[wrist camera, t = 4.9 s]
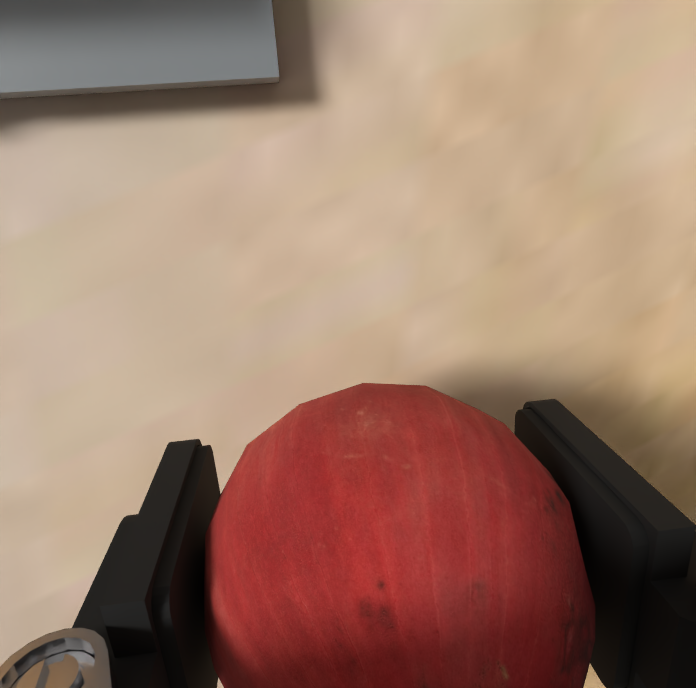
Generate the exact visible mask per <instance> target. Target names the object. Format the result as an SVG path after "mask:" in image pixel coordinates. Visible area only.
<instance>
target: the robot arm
mask: <svg viewBox="0 0 696 688" xmlns="http://www.w3.org/2000/svg"><path fill="white" fill-rule="evenodd" d="M515 436H516V437H517V438H518V439H519V440H520V441H521V442H522V443H523V444H524V445H525V446H526V447H527V449H528V450H529V451H530V452H531V453H532V454H533V455H534V456H535V457H536V458H537V459H538V460H539V461H540V463H541V464H542V465H543V466H544V467H545V468H546V469H547V470H548V471H549V472H550V474H551V475H552V477H553V478H554V480H555V481H556V483H557V484H558V486H559V487H560V489H561V490H562V492H563V493H564V495H565V497H566V498H567V500H568V501H569V503H570V507H571V511H572V515H573V520H574V524H575V528H576V532H577V536H578V540H579V545H580V549H581V553H582V557H583V561H584V565H585V570H586V573H587V577H588V581H589V584H590V588H591V592H592V595H593V599H594V602H595V643H594V647H593V651H592V655H591V659H590V664H591V665H592V667H593V669H594V670H595V672H596V674H597V675H598V677H599V679H600V680H601V682H602V683H603V685H604V686H605V687H606V688H696V531H695V530H696V525H695V524H694V523H693V522H691V521H690V520H689V519H688V518H687V517H686V516H685V515H684V514H683V513H682V512H680V511H679V510H678V509H677V508H676V507H675V506H674V505H673V504H672V503H670V502H669V501H668V500H667V499H666V498H665V497H664V496H663V495H662V494H660V493H659V492H658V491H657V490H656V489H655V488H654V487H653V486H652V485H651V484H649V483H648V482H647V481H646V480H645V479H644V478H643V477H642V476H641V475H639V474H638V473H637V472H636V471H635V470H634V469H633V468H632V467H631V466H629V465H628V464H627V463H626V462H625V461H624V460H623V459H622V458H621V457H620V456H618V455H617V454H616V453H615V452H614V451H613V450H612V449H611V448H610V447H608V446H607V445H606V444H605V443H604V442H603V441H602V440H601V439H600V438H598V437H597V436H596V435H595V434H594V433H593V432H592V431H591V430H590V429H589V428H587V427H586V426H585V425H584V424H583V423H582V422H581V421H580V420H579V419H577V418H576V417H575V416H574V415H573V414H572V413H571V412H570V411H569V410H567V409H566V408H565V407H564V406H563V405H562V404H561V403H560V402H559V401H557V400H556V399H549V400H540V401H531V402H526V403H525V405H524V407H523V409H522V410H518V411H517V412H516V416H515ZM219 497H220V489H219V484H218V478H217V473H216V467H215V462H214V456H213V451H212V448H211V446H210V445H207V446H202V444H201V441H200V440H199V439H194V440H185V441H177V442H169V443H168V445H167V447H166V450H165V452H164V454H163V457H162V459H161V462H160V464H159V466H158V469H157V471H156V473H155V476H154V478H153V481H152V483H151V485H150V488H149V490H148V492H147V495H146V497H145V500H144V502H143V504H142V507H141V509H140V511H139V514H136V515H128V516H126V517H124V518H123V520H122V521H121V523H120V525H119V527H118V529H117V531H116V533H115V536H114V538H113V540H112V542H111V544H110V546H109V549H108V551H107V553H106V555H105V557H104V559H103V562H102V564H101V566H100V568H99V570H98V572H97V575H96V577H95V579H94V581H93V583H92V585H91V588H90V590H89V592H88V594H87V596H86V598H85V601H84V603H83V605H82V607H81V609H80V611H79V614H78V616H77V618H76V620H75V622H74V625H73V627H72V628H68V629H62V630H59V631H56V632H52V633H49V634H46V635H44V636H42V637H40V638H38V639H36V640H34V641H32V642H30V643H28V644H27V645H25V646H24V647H23V648H21V649H20V650H19V651H17V652H16V653H14V654H13V655H12V656H10V657H9V658H8V659H7V660H6V661H5V662H4V663H3V664H2V665H1V666H0V688H217V682H218V675H217V673H216V671H215V670H214V666H213V662H212V658H211V654H210V650H209V646H208V642H207V638H206V634H205V615H204V569H205V535H206V531H207V529H208V526H209V523H210V521H211V518H212V515H213V513H214V510H215V507H216V505H217V502H218V499H219Z"/></svg>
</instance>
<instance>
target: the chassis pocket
mask: <svg viewBox="0 0 696 688" xmlns="http://www.w3.org/2000/svg"><path fill="white" fill-rule="evenodd" d="M278 82H279V68H278V58H277V49H276V39H275V29H274V19H273V9H272V0H0V99H6V98H23V97H40V96H57V95H75V94H92V93H109V92H126V91H143V90H160V89H178V88H195V87H212V86H229V85H246V84H263V83H278Z"/></svg>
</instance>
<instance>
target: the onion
mask: <svg viewBox="0 0 696 688" xmlns="http://www.w3.org/2000/svg"><path fill="white" fill-rule="evenodd" d="M204 615H205V634H206V638H207V642H208V646H209V650H210V654H211V658H212V662H213V666H214V670H215V671H216V673H217V675H218V677H219V679H220V681H221V683H222V685H223V686H224V688H583V687H584V683H585V679H586V676H587V672H588V668H589V664H590V659H591V655H592V651H593V647H594V643H595V602H594V599H593V595H592V592H591V588H590V584H589V581H588V577H587V573H586V570H585V565H584V561H583V557H582V553H581V549H580V545H579V540H578V536H577V532H576V528H575V524H574V520H573V515H572V511H571V507H570V503H569V501H568V500H567V498H566V497H565V495H564V493H563V492H562V490H561V489H560V487H559V486H558V484H557V483H556V481H555V480H554V478H553V477H552V475H551V474H550V472H549V471H548V470H547V469H546V468H545V467H544V466H543V465H542V464H541V463H540V461H539V460H538V459H537V458H536V457H535V456H534V455H533V454H532V453H531V452H530V451H529V450H528V449H527V447H526V446H525V445H524V444H523V443H522V442H521V441H520V440H519V439H518V438H517V437H516V436H515V435H514V434H513V432H512V431H511V430H510V429H509V428H508V427H507V426H506V425H505V424H504V423H502V422H500V421H498V420H497V419H495V418H493V417H491V416H489V415H487V414H486V413H484V412H482V411H480V410H478V409H476V408H474V407H471V406H469V405H467V404H465V403H463V402H460V401H458V400H456V399H454V398H452V397H449V396H447V395H445V394H443V393H441V392H438V391H436V390H434V389H432V388H430V387H427V386H420V385H396V384H373V383H362V384H359V385H356V386H353V387H350V388H347V389H344V390H341V391H338V392H335V393H332V394H329V395H326V396H323V397H320V398H317V399H314V400H311V401H308V402H305V403H302V404H299V405H298V406H297V407H296V408H294V409H293V410H292V411H290V412H289V413H288V414H286V415H285V416H284V417H283V418H281V419H280V420H279V421H277V422H276V423H275V424H274V425H272V426H271V427H270V428H268V429H267V430H266V431H265V432H263V433H262V434H261V435H259V436H258V437H257V438H255V439H254V440H253V441H252V442H250V443H249V444H248V445H247V446H246V448H245V450H244V452H243V454H242V456H241V457H240V459H239V461H238V463H237V465H236V467H235V469H234V471H233V473H232V474H231V476H230V478H229V480H228V482H227V484H226V486H225V488H224V489H223V491H222V493H221V495H220V497H219V499H218V502H217V505H216V507H215V510H214V513H213V515H212V518H211V521H210V523H209V526H208V529H207V531H206V535H205V569H204Z"/></svg>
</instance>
